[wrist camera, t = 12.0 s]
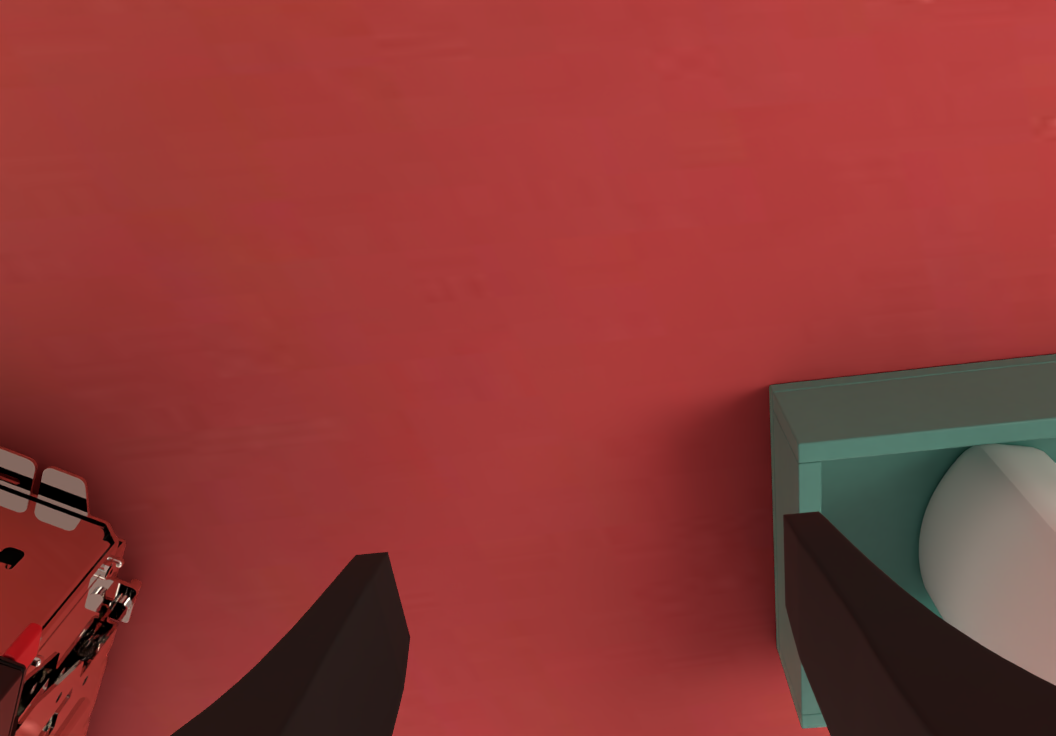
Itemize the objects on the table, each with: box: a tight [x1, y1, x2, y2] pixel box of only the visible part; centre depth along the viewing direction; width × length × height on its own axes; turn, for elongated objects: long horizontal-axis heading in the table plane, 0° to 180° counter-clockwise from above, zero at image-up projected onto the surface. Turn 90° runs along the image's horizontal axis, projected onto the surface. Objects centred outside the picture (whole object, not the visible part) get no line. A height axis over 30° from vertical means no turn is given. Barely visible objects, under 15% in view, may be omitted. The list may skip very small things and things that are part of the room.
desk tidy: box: [769, 354, 1056, 728], centre depth 25 cm, size 10×12×4 cm
